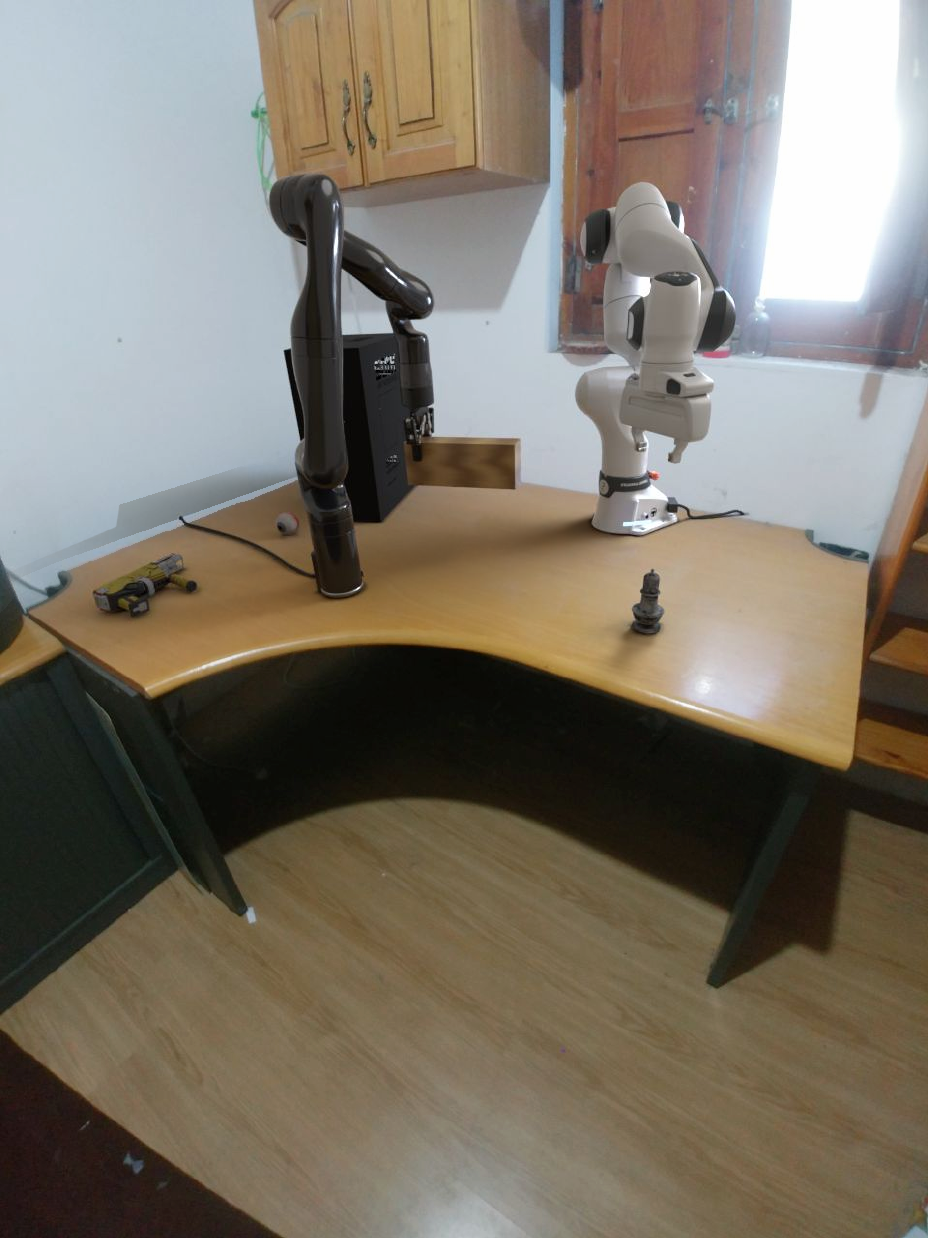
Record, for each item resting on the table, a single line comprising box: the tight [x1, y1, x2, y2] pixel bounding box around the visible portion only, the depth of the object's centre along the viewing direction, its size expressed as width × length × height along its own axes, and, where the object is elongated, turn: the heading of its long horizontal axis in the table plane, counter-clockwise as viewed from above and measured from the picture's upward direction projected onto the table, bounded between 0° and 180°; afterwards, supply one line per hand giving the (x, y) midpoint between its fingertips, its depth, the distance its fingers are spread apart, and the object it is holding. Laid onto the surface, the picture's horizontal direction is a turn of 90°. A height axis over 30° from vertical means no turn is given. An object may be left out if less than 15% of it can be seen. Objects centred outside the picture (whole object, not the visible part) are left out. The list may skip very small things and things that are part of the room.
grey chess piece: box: [631, 568, 665, 634], centre depth 111 cm, size 6×6×12 cm
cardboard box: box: [283, 332, 416, 523], centre depth 176 cm, size 38×20×45 cm, turn 167°
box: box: [404, 435, 522, 491], centre depth 143 cm, size 27×6×10 cm, turn 73°
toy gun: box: [92, 552, 198, 618], centre depth 136 cm, size 5×24×15 cm
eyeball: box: [275, 511, 300, 536], centre depth 163 cm, size 6×6×6 cm
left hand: (422, 456), depth 145 cm, fingers closed on box, 6 cm apart
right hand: (656, 456), depth 113 cm, fingers open, 8 cm apart
